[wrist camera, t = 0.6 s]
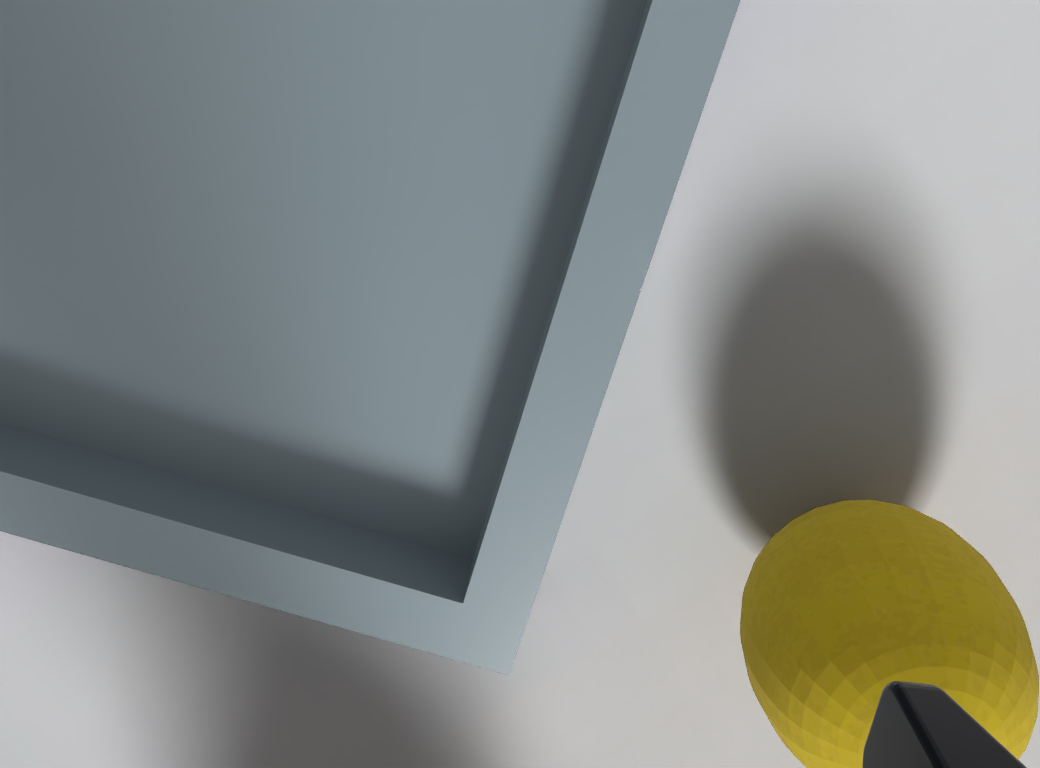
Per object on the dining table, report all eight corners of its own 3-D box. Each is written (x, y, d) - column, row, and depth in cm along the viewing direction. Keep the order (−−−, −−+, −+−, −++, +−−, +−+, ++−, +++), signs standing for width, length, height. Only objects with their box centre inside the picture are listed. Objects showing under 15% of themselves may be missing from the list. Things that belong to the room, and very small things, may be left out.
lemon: (773, 674, 25) (857, 941, 17) (680, 505, 24) (728, 716, 16) (977, 591, 24) (1163, 838, 16) (893, 408, 22) (1052, 585, 15)
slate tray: (516, 604, 25) (508, 675, 22) (-164, 409, 24) (-263, 456, 21) (769, -146, 19) (802, -181, 16) (-123, -431, 18) (-252, -521, 15)
